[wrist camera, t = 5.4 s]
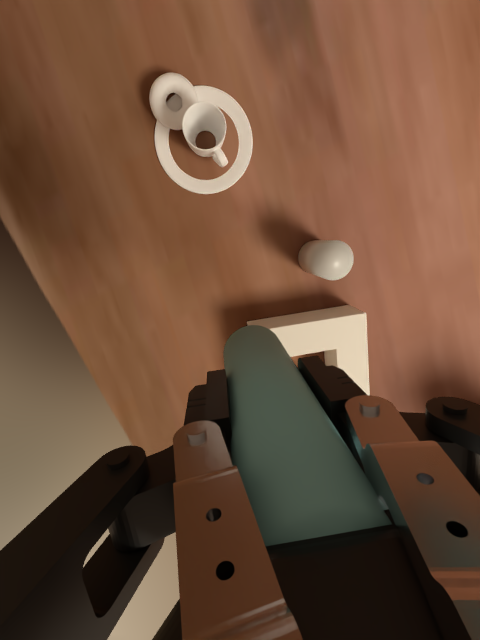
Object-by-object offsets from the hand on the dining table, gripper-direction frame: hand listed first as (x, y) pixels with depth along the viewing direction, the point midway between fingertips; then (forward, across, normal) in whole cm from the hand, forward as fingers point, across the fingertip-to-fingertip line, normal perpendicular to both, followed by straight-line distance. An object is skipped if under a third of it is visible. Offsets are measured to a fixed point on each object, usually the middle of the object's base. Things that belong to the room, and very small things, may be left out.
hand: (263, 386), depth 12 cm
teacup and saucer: (+18, -1, -16) cm, 24 cm away
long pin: (+4, 0, 0) cm, 4 cm away
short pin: (+17, -8, -3) cm, 19 cm away
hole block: (+17, -6, +7) cm, 20 cm away
